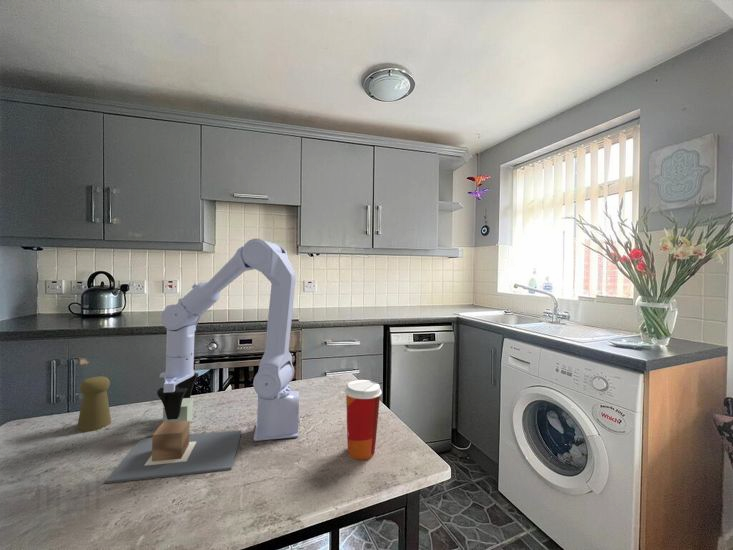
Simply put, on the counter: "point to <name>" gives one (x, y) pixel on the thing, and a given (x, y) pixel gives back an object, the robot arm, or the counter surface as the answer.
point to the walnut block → (170, 440)
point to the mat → (198, 458)
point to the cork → (94, 404)
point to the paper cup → (362, 417)
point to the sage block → (182, 411)
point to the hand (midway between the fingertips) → (178, 411)
